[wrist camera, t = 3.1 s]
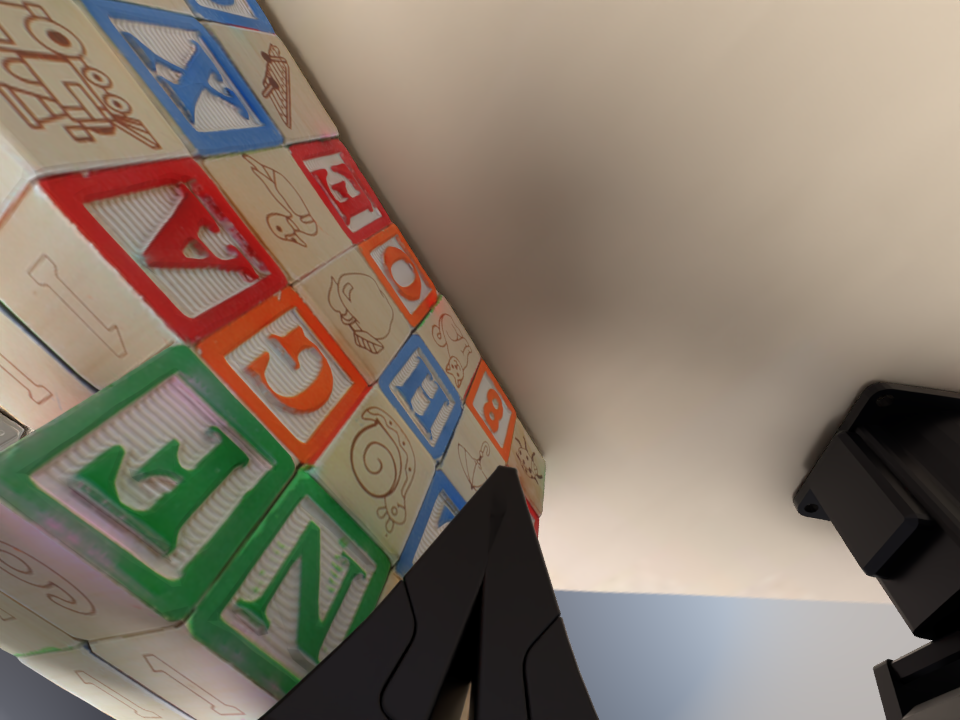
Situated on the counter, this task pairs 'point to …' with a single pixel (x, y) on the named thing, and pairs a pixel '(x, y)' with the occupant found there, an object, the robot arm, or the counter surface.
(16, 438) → the skincare box
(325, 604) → the stack of blocks
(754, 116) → the counter surface
